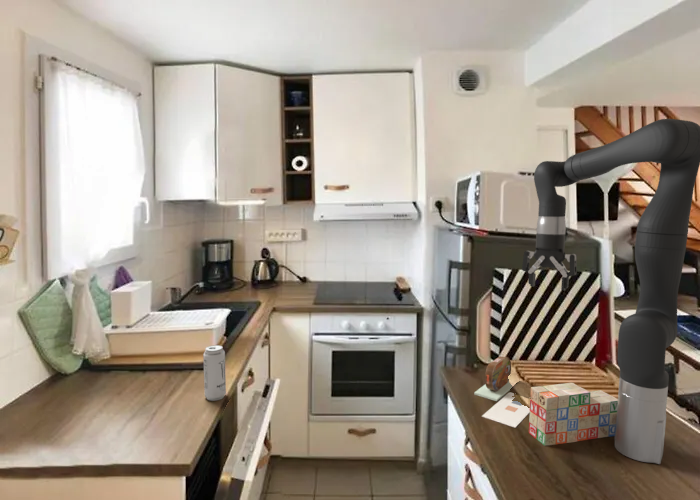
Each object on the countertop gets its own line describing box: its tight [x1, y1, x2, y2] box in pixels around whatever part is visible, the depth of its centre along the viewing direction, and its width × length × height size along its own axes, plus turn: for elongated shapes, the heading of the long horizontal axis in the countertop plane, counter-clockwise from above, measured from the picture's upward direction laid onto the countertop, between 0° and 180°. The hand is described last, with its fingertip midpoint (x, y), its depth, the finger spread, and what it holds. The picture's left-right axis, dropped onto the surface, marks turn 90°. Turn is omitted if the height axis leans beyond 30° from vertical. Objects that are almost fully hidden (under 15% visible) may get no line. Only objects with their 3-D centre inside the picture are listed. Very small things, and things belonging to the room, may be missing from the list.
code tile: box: [481, 391, 530, 428], centre depth 122 cm, size 9×20×1 cm, turn 140°
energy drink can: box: [203, 344, 227, 402], centre depth 128 cm, size 6×6×15 cm
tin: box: [484, 356, 512, 391], centre depth 135 cm, size 15×3×8 cm, turn 139°
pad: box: [474, 381, 513, 402], centre depth 136 cm, size 7×19×1 cm, turn 139°
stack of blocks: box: [528, 382, 618, 447], centre depth 108 cm, size 21×6×12 cm, turn 103°
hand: (547, 288), depth 126 cm, fingers open, 8 cm apart
